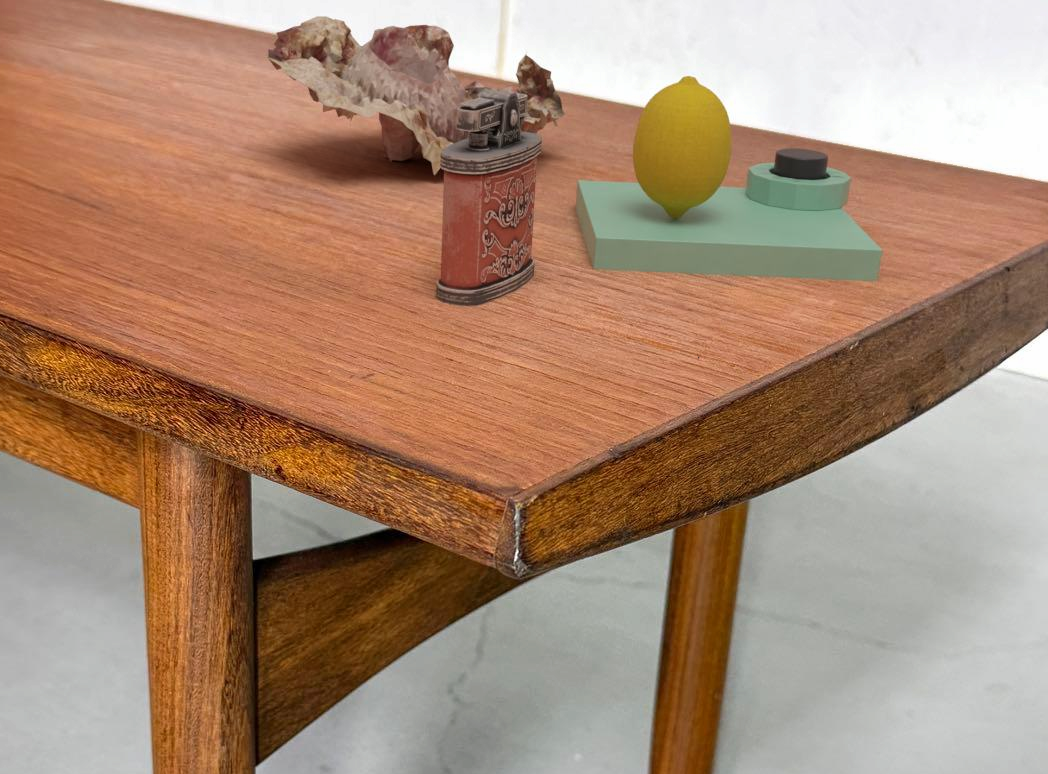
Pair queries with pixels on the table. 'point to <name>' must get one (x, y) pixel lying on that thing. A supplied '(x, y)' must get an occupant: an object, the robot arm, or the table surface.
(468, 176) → the lighter
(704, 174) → the lemon
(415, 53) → the mineral formation
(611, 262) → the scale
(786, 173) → the power button
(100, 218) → the table surface
